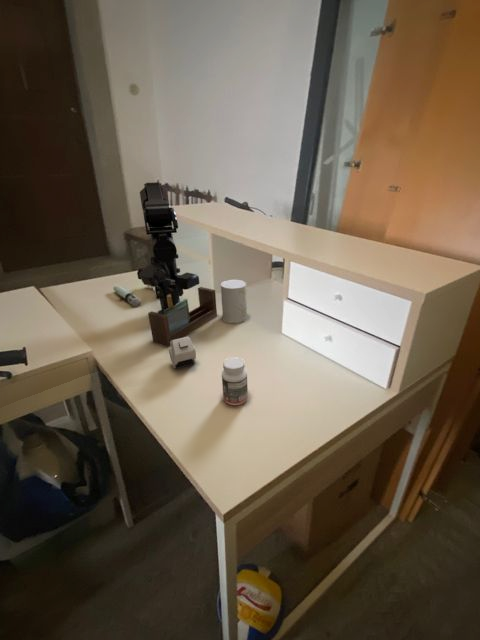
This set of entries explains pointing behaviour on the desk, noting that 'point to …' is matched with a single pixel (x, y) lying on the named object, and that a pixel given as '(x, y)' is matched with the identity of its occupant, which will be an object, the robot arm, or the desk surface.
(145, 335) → the desk surface
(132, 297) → the flashlight
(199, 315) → the brown book rack
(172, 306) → the sash
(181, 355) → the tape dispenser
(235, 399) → the pill bottle
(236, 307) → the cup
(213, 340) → the desk surface
